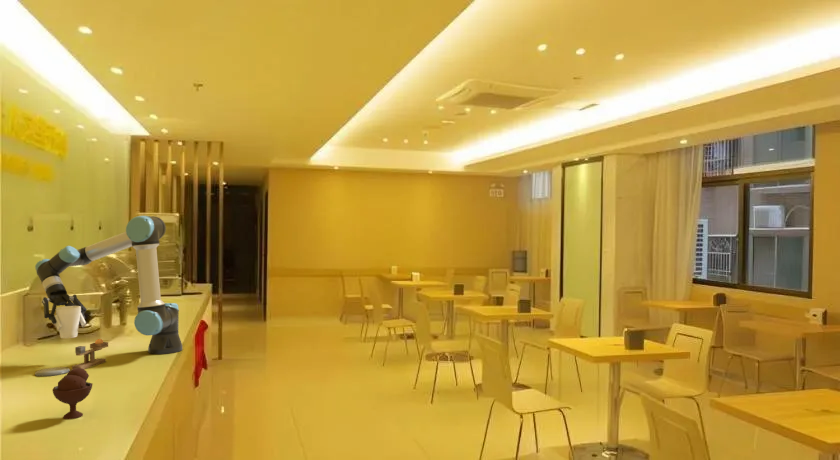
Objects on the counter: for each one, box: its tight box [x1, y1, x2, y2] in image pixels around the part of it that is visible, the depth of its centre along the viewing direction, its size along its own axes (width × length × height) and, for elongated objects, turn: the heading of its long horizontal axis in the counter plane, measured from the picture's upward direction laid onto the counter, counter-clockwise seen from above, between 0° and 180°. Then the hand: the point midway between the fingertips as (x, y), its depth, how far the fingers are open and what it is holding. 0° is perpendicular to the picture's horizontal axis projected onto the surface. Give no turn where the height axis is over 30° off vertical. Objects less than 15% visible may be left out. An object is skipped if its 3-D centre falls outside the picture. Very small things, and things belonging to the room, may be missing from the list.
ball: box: [94, 338, 104, 344], centre depth 262 cm, size 3×3×3 cm
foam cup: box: [55, 305, 81, 339], centre depth 261 cm, size 10×9×13 cm
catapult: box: [71, 341, 109, 370], centre depth 256 cm, size 5×16×9 cm, turn 170°
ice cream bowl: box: [52, 368, 94, 420], centre depth 188 cm, size 11×11×15 cm
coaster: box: [34, 366, 71, 377], centre depth 244 cm, size 12×12×1 cm
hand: (72, 326), depth 260 cm, fingers closed on foam cup, 9 cm apart
